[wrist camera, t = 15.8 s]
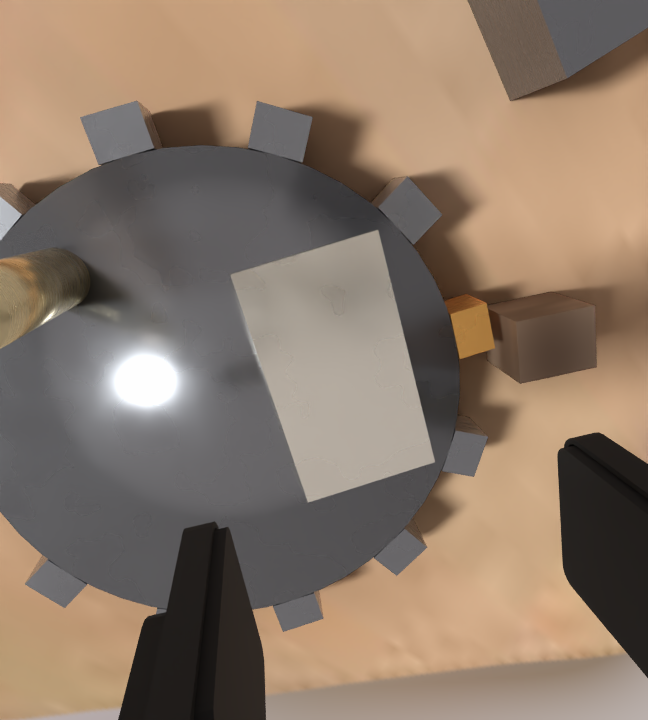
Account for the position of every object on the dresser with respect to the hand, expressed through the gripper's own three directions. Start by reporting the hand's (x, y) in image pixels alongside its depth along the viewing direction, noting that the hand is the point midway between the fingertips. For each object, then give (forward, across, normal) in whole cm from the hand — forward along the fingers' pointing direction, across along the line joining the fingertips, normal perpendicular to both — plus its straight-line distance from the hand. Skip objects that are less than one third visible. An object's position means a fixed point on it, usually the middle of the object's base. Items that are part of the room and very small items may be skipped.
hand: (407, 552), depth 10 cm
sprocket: (+13, +4, 0) cm, 13 cm away
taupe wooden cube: (+13, -8, 0) cm, 15 cm away
